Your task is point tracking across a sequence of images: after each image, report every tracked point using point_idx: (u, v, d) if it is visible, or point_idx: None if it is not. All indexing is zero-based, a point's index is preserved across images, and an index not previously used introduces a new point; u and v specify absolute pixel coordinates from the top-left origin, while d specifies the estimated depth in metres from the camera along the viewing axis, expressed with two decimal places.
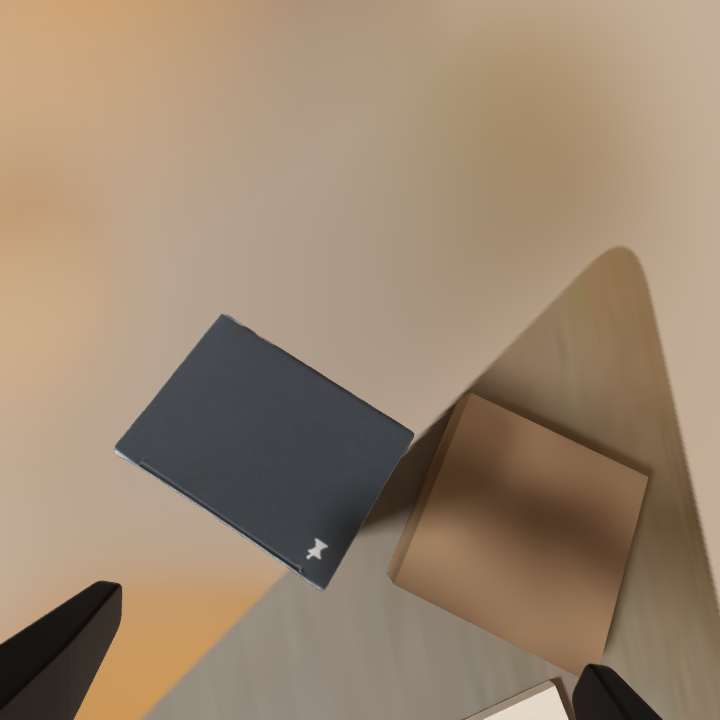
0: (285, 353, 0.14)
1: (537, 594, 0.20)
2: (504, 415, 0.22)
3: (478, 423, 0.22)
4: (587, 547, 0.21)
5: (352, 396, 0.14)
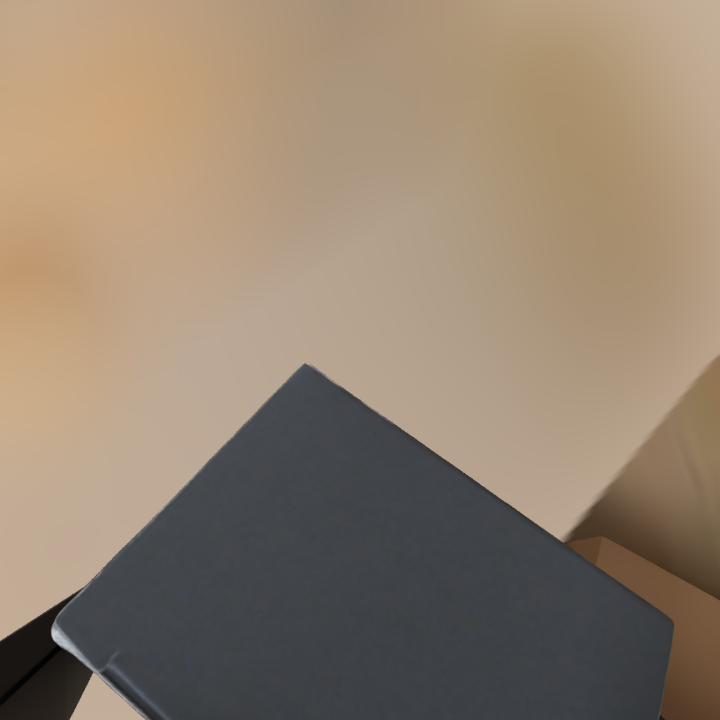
0: (415, 440, 0.08)
1: None
2: (656, 575, 0.15)
3: None
4: None
5: (545, 532, 0.07)
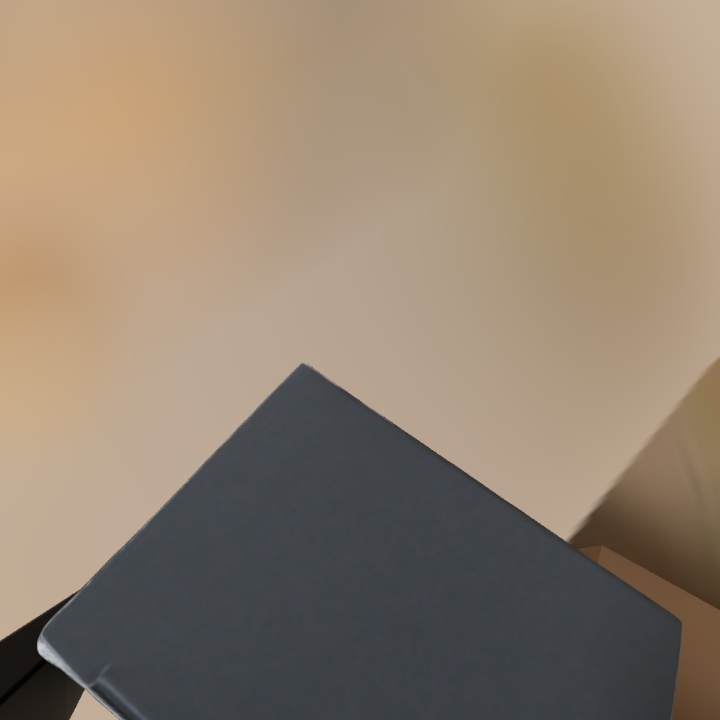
0: (416, 440, 0.08)
1: None
2: (656, 586, 0.15)
3: None
4: None
5: (549, 532, 0.07)
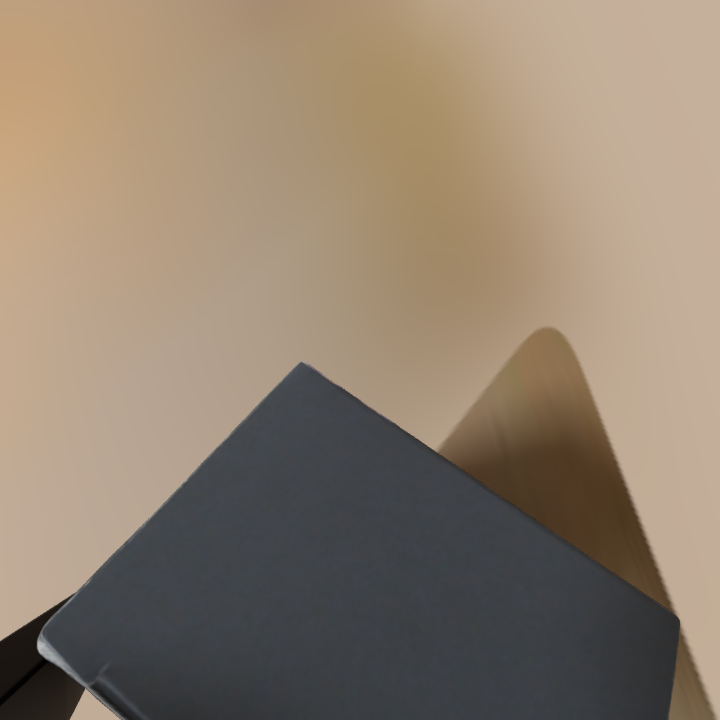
0: (414, 439, 0.08)
1: None
2: None
3: None
4: None
5: (548, 530, 0.07)
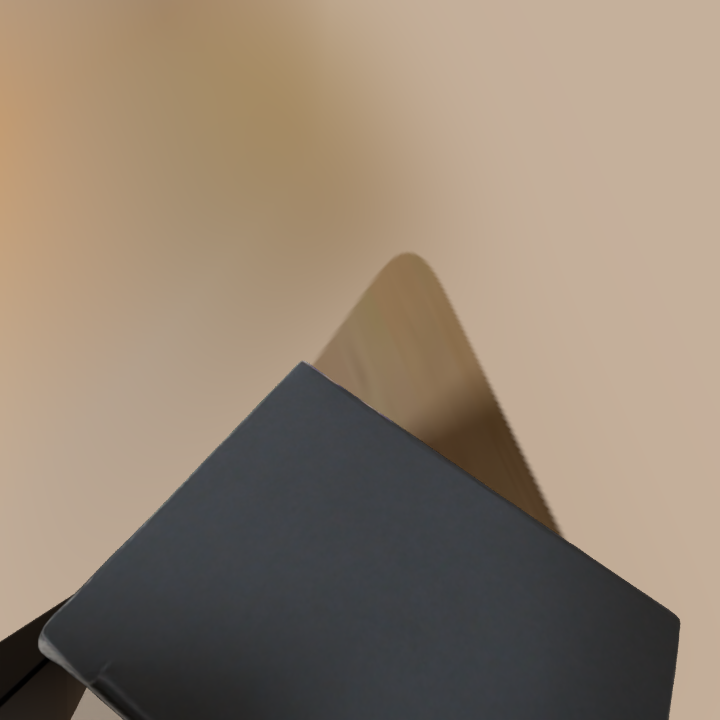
0: (415, 438, 0.08)
1: None
2: None
3: None
4: None
5: (548, 530, 0.07)
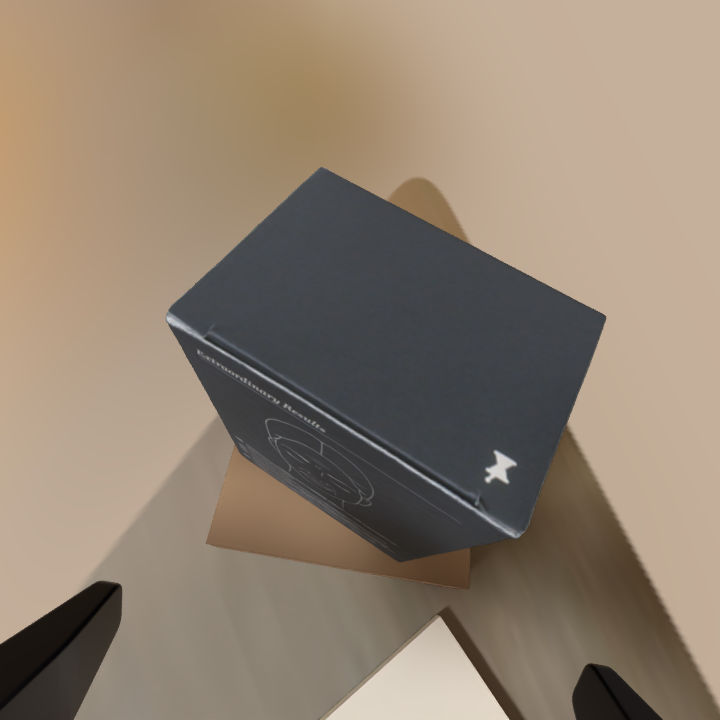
0: (410, 214, 0.10)
1: None
2: None
3: None
4: None
5: (511, 266, 0.10)
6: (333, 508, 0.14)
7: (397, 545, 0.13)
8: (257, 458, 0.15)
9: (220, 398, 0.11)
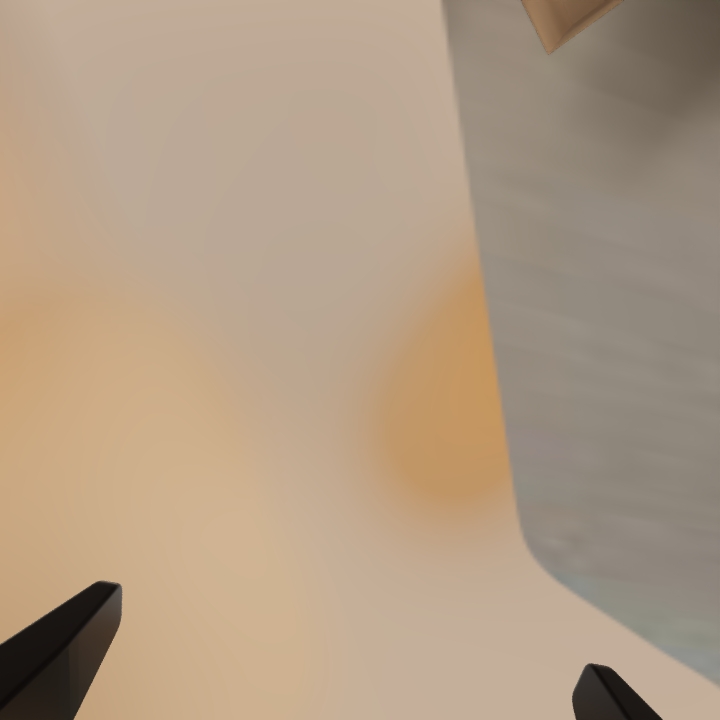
0: None
1: None
2: None
3: None
4: None
5: None
6: None
7: None
8: None
9: None
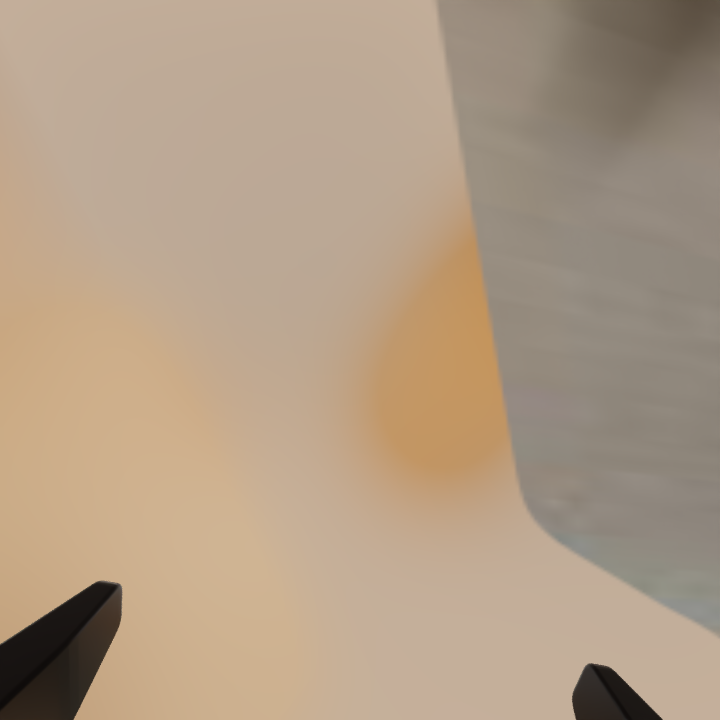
0: None
1: None
2: None
3: None
4: None
5: None
6: None
7: None
8: None
9: None
